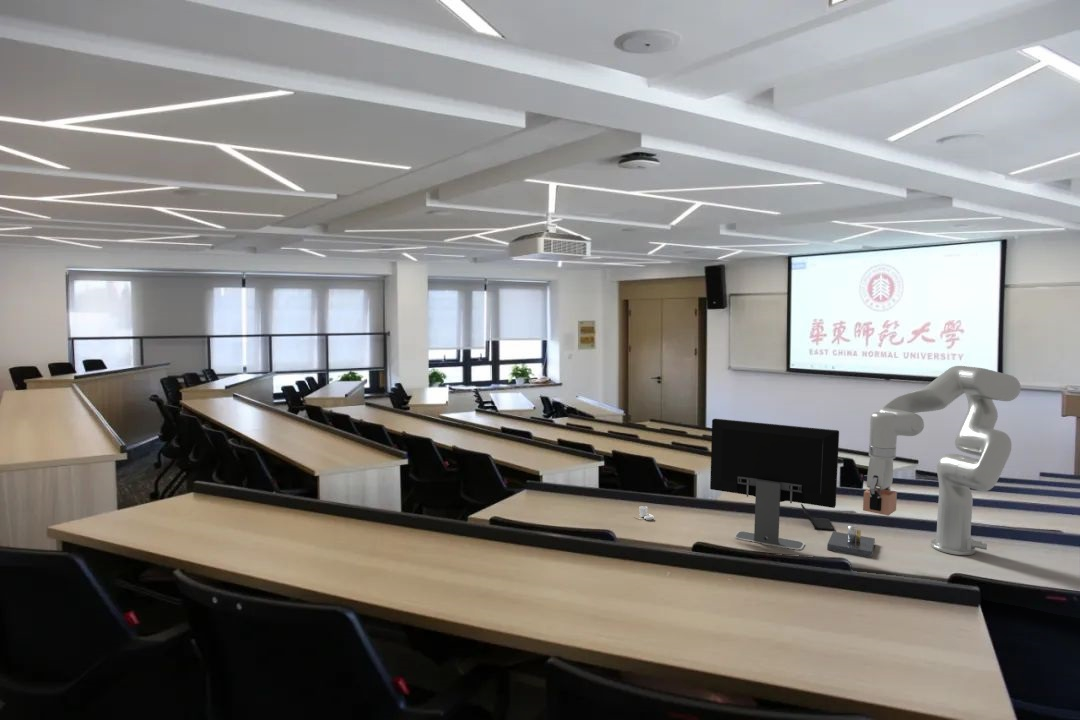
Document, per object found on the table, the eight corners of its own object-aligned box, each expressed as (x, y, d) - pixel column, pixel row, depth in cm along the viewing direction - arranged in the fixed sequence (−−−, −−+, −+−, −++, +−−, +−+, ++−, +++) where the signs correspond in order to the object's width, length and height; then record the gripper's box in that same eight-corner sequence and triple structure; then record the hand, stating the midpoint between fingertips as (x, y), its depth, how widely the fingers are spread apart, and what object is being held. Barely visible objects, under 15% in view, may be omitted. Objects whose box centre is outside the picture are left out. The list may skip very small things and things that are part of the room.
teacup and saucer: (655, 522, 246) (656, 511, 246) (634, 521, 246) (634, 511, 246) (652, 514, 255) (652, 504, 255) (631, 514, 255) (631, 504, 255)
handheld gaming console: (841, 526, 236) (821, 501, 237) (823, 540, 237) (803, 514, 238) (829, 520, 249) (810, 496, 250) (812, 532, 249) (793, 508, 250)
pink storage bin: (862, 510, 209) (863, 491, 208) (871, 505, 214) (872, 487, 214) (888, 515, 204) (889, 496, 203) (896, 510, 209) (897, 491, 208)
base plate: (874, 544, 224) (875, 523, 223) (871, 557, 212) (872, 536, 211) (832, 536, 231) (833, 517, 230) (827, 549, 219) (828, 529, 218)
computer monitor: (834, 548, 220) (840, 429, 216) (831, 556, 213) (836, 433, 209) (712, 526, 241) (715, 417, 237) (705, 533, 233) (708, 421, 230)
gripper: (878, 445, 216) (876, 498, 218) (859, 454, 204) (857, 510, 205) (904, 449, 211) (901, 503, 212) (886, 458, 198) (883, 516, 200)
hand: (879, 506), depth 209 cm, fingers closed on pink storage bin, 7 cm apart
